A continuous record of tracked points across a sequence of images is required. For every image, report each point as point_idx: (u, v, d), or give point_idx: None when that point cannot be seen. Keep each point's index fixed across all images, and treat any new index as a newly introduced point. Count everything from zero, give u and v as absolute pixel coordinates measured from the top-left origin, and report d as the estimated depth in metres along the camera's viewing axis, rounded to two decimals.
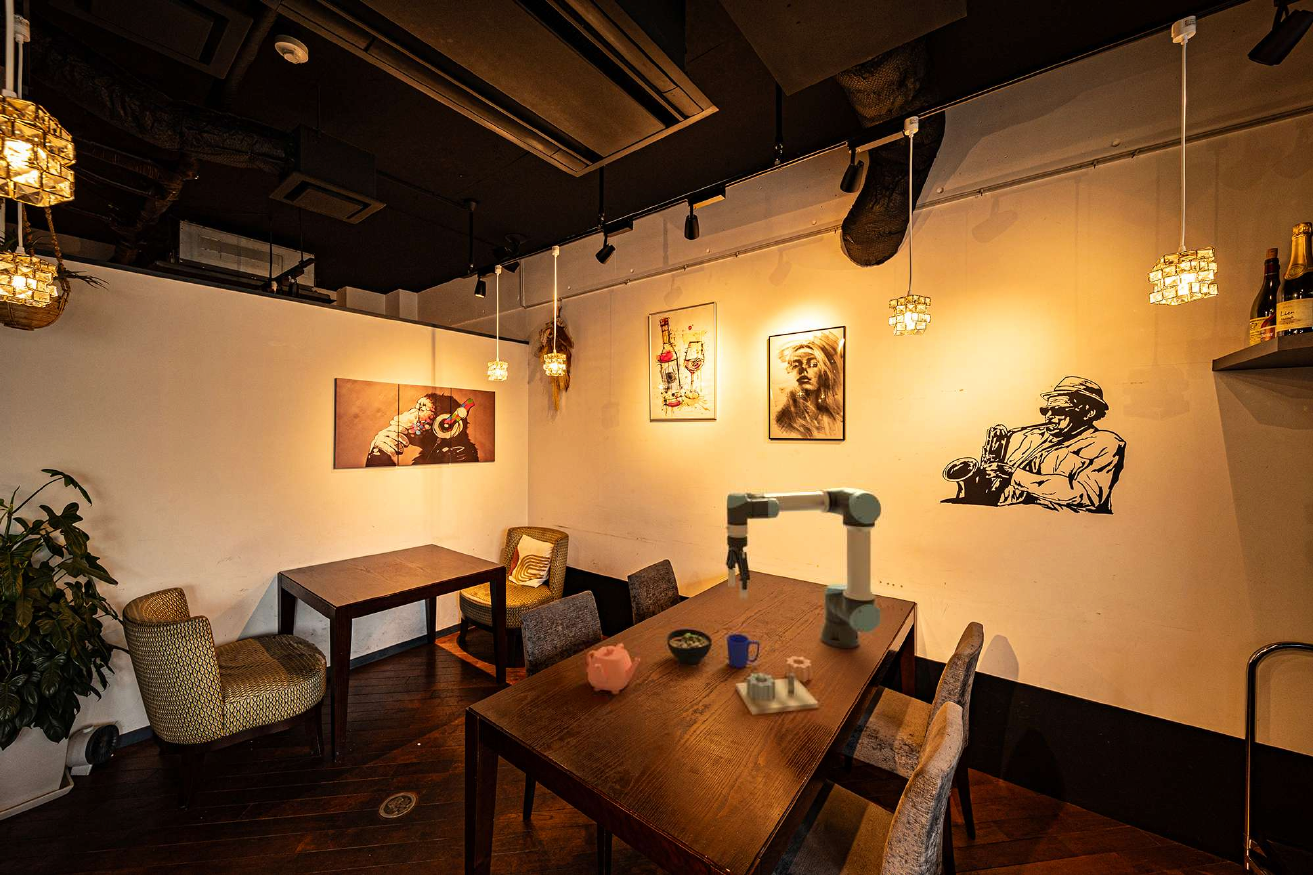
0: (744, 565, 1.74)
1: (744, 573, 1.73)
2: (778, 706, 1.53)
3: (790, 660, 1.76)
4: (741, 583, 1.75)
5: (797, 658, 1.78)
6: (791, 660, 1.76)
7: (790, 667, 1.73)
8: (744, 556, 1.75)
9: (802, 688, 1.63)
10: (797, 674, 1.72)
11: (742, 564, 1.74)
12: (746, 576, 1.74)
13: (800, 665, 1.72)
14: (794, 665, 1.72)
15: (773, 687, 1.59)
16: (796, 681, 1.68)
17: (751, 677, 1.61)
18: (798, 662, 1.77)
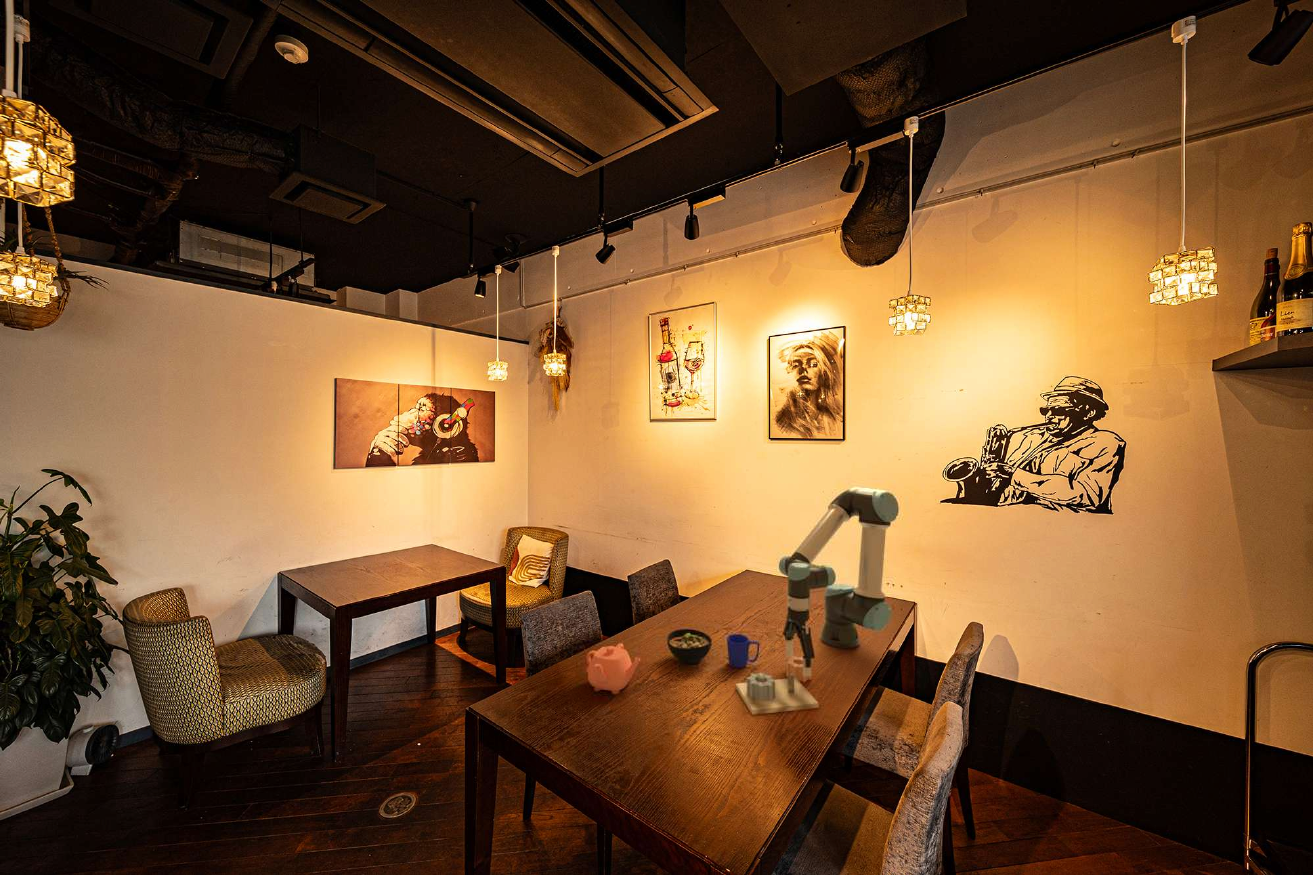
0: (808, 641, 1.67)
1: (808, 651, 1.65)
2: (778, 706, 1.53)
3: (790, 660, 1.76)
4: (804, 660, 1.67)
5: (797, 658, 1.78)
6: (791, 660, 1.76)
7: (790, 667, 1.73)
8: (808, 632, 1.68)
9: (802, 688, 1.63)
10: (797, 674, 1.72)
11: (806, 641, 1.67)
12: None
13: (800, 665, 1.72)
14: (794, 665, 1.72)
15: (773, 687, 1.59)
16: (796, 681, 1.68)
17: (751, 677, 1.61)
18: (798, 662, 1.77)
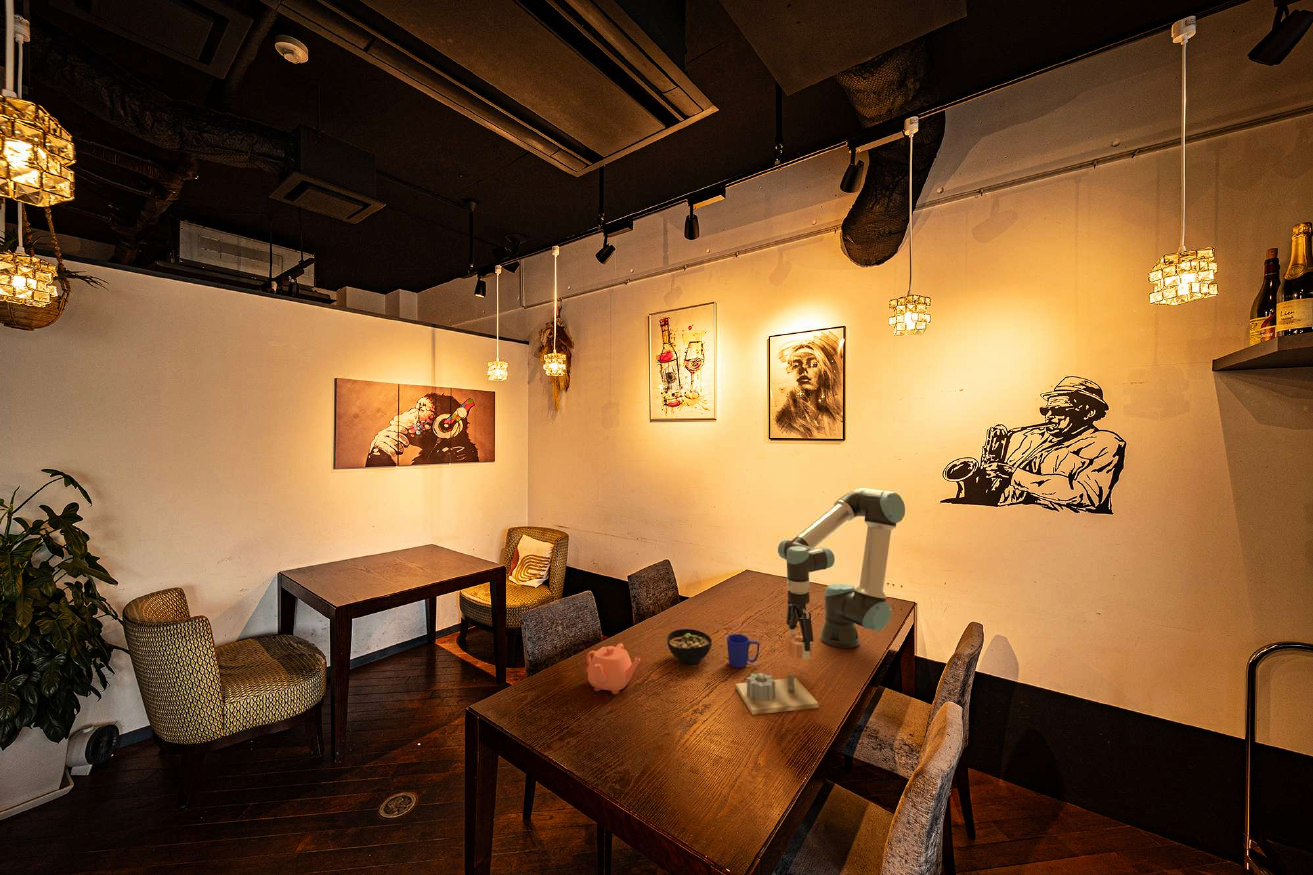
0: (808, 626, 1.68)
1: (808, 635, 1.67)
2: (778, 706, 1.53)
3: (791, 638, 1.76)
4: (803, 644, 1.70)
5: (798, 636, 1.78)
6: (792, 638, 1.76)
7: (791, 645, 1.73)
8: (808, 617, 1.68)
9: (802, 688, 1.63)
10: (798, 652, 1.72)
11: (806, 625, 1.68)
12: None
13: (801, 643, 1.72)
14: (795, 643, 1.72)
15: (773, 687, 1.59)
16: (796, 681, 1.68)
17: (751, 677, 1.61)
18: (799, 640, 1.77)
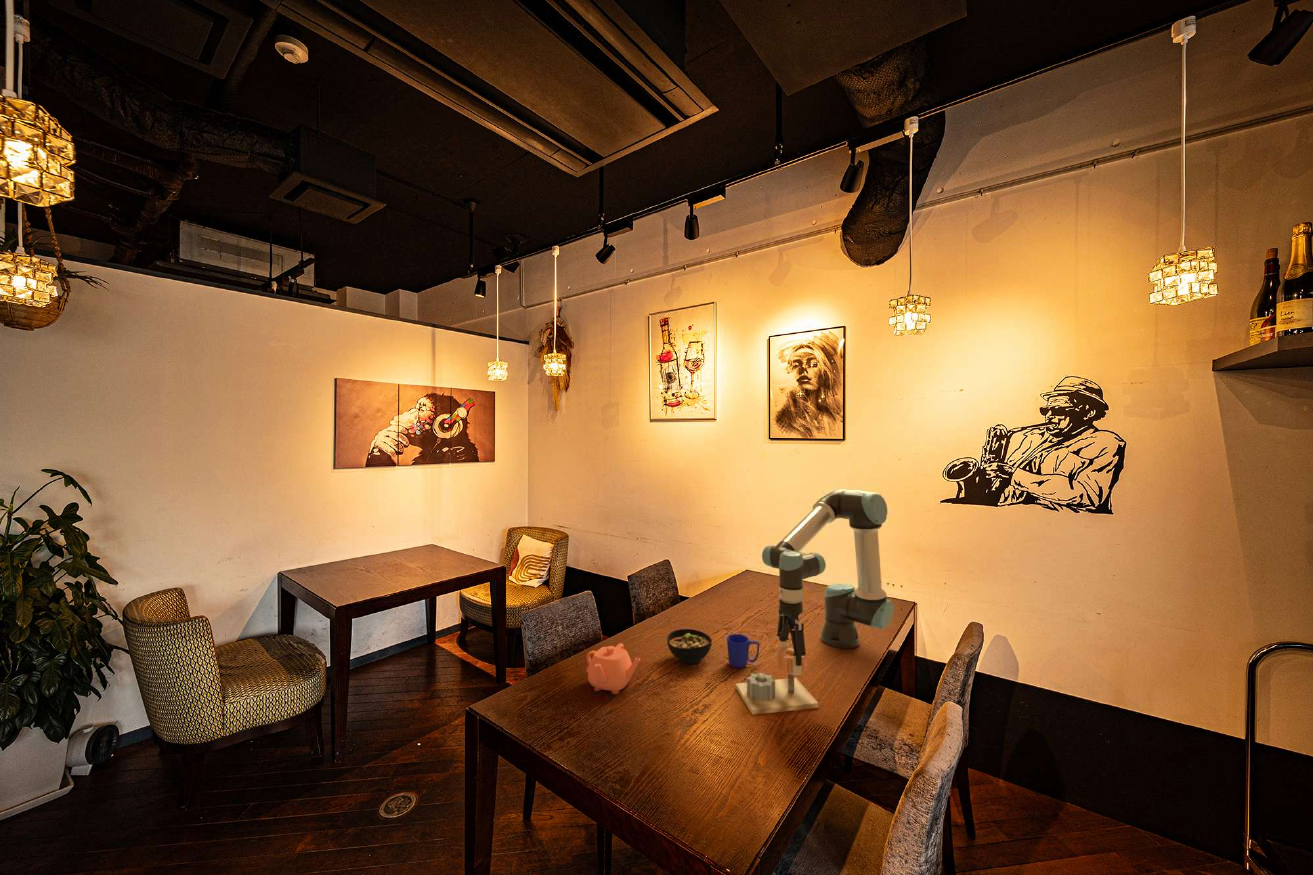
0: (800, 638, 1.54)
1: (799, 648, 1.54)
2: (778, 706, 1.53)
3: (781, 651, 1.62)
4: (795, 658, 1.56)
5: (789, 649, 1.64)
6: (782, 651, 1.62)
7: (781, 658, 1.60)
8: (800, 628, 1.55)
9: (802, 688, 1.63)
10: (788, 666, 1.58)
11: (798, 638, 1.54)
12: None
13: (792, 656, 1.59)
14: (785, 656, 1.59)
15: (773, 687, 1.59)
16: (796, 681, 1.68)
17: (751, 677, 1.61)
18: (790, 653, 1.63)
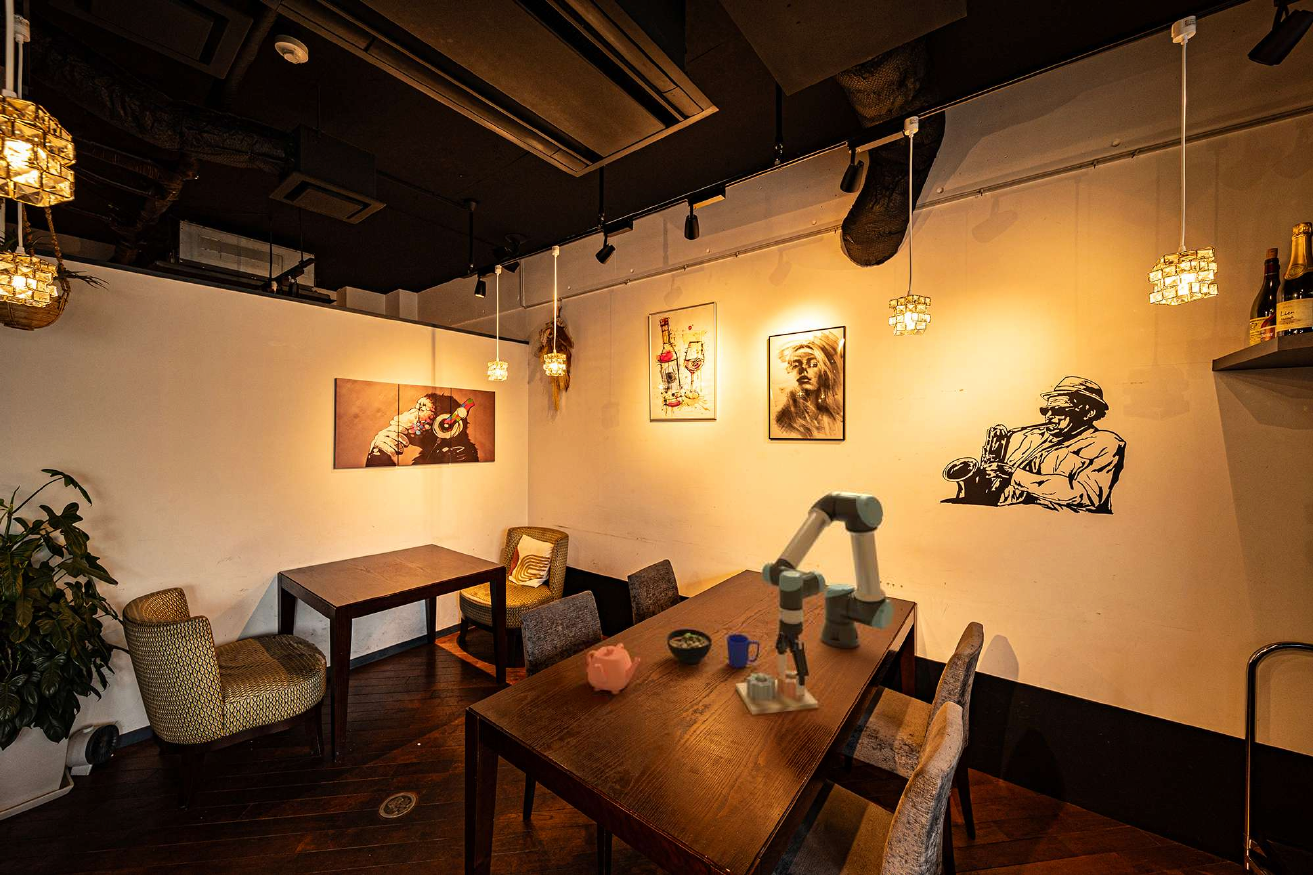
0: (802, 657, 1.54)
1: (802, 668, 1.52)
2: (778, 706, 1.53)
3: (782, 674, 1.63)
4: (798, 678, 1.54)
5: (789, 672, 1.64)
6: (783, 674, 1.63)
7: (781, 682, 1.60)
8: (801, 647, 1.55)
9: None
10: (789, 690, 1.58)
11: (799, 657, 1.54)
12: None
13: (792, 680, 1.59)
14: (786, 680, 1.59)
15: (773, 687, 1.59)
16: None
17: (751, 677, 1.61)
18: None
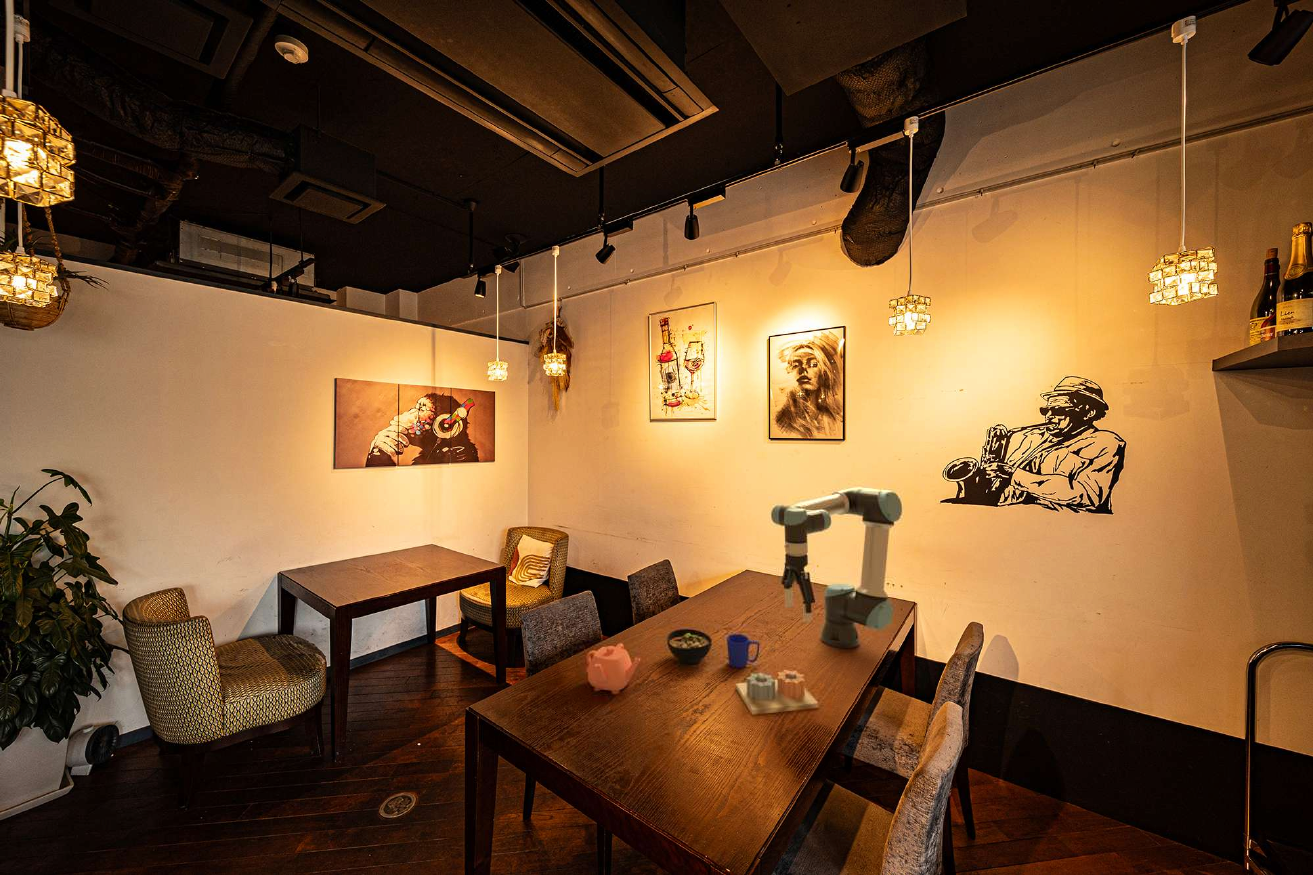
0: (808, 586, 1.61)
1: (808, 595, 1.60)
2: (778, 706, 1.53)
3: (782, 674, 1.63)
4: (804, 606, 1.62)
5: (789, 672, 1.64)
6: (783, 674, 1.63)
7: (781, 682, 1.60)
8: (807, 577, 1.62)
9: None
10: (789, 690, 1.58)
11: (805, 586, 1.61)
12: None
13: (792, 680, 1.59)
14: (786, 680, 1.59)
15: (773, 687, 1.59)
16: None
17: (751, 677, 1.61)
18: None
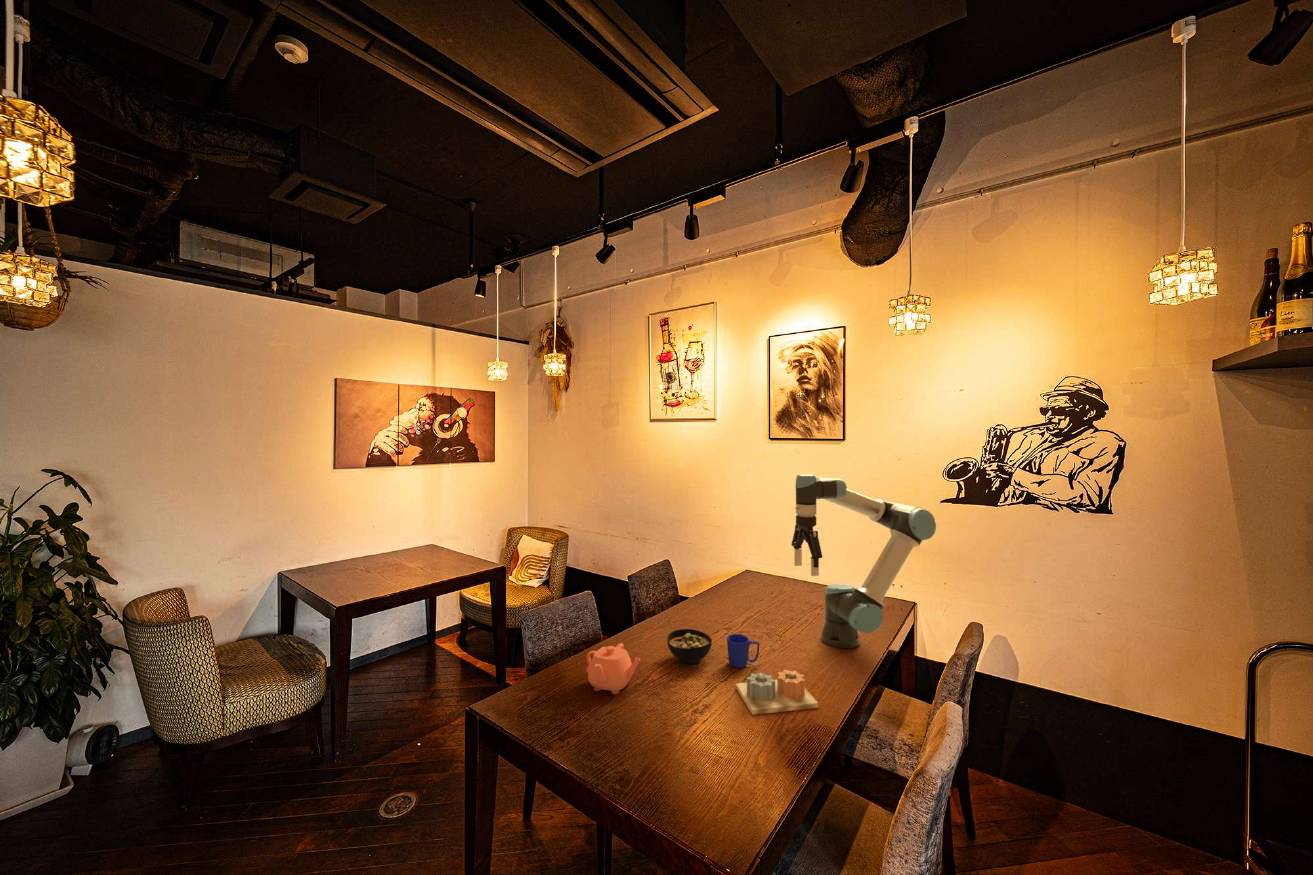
0: (816, 543, 1.78)
1: (816, 551, 1.76)
2: (778, 706, 1.53)
3: (782, 674, 1.63)
4: (812, 561, 1.78)
5: (789, 672, 1.64)
6: (783, 674, 1.63)
7: (781, 682, 1.60)
8: (815, 535, 1.79)
9: None
10: (789, 690, 1.58)
11: (814, 542, 1.78)
12: (817, 554, 1.78)
13: (792, 680, 1.59)
14: (786, 680, 1.59)
15: (773, 687, 1.59)
16: None
17: (751, 677, 1.61)
18: None
